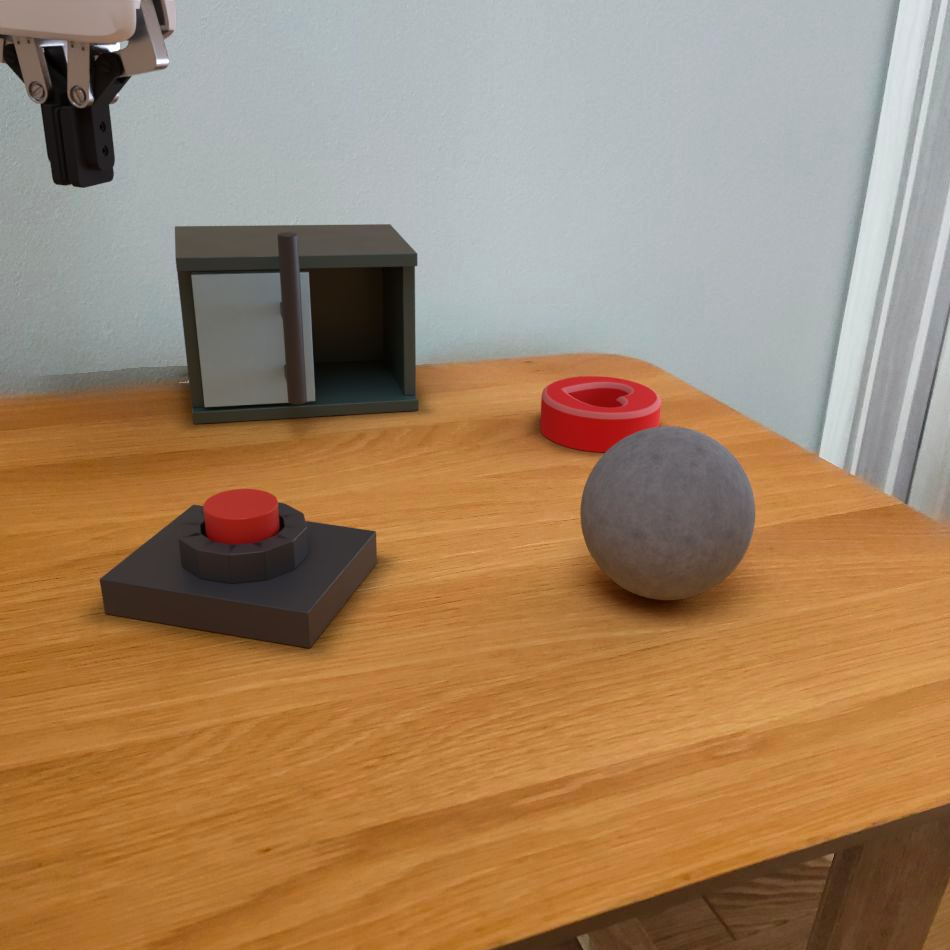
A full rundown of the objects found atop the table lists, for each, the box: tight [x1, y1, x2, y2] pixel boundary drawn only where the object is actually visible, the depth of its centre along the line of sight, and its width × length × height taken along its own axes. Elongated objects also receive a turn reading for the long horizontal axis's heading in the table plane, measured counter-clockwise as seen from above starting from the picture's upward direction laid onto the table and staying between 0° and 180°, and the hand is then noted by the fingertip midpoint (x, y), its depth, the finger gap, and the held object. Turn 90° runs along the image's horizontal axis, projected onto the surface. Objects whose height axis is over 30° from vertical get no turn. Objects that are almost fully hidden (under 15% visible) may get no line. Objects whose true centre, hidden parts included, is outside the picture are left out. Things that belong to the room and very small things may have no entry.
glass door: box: [191, 232, 315, 407], centre depth 79 cm, size 9×6×14 cm
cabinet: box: [174, 223, 419, 425], centre depth 88 cm, size 18×12×13 cm, turn 107°
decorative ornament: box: [539, 375, 662, 453], centre depth 86 cm, size 10×10×3 cm
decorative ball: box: [579, 425, 756, 601], centre depth 61 cm, size 10×10×10 cm
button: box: [202, 488, 280, 545], centre depth 59 cm, size 4×4×2 cm
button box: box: [99, 501, 378, 649], centre depth 60 cm, size 12×10×4 cm
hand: (84, 182), depth 58 cm, fingers closed
